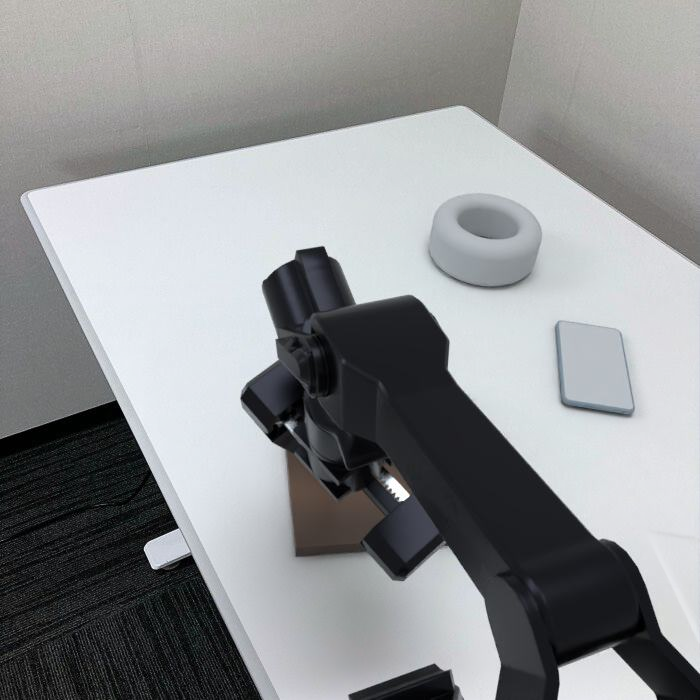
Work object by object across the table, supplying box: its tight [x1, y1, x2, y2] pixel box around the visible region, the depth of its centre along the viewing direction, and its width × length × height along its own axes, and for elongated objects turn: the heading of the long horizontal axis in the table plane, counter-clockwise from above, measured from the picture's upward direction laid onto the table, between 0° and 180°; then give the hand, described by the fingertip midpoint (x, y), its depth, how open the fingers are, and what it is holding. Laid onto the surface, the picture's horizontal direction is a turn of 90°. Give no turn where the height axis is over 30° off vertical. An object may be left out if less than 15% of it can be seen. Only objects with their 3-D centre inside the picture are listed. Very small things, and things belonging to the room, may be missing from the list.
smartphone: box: [555, 320, 636, 415], centre depth 94 cm, size 8×1×15 cm
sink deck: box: [284, 449, 448, 558], centre depth 80 cm, size 20×20×2 cm
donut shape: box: [428, 192, 543, 287], centre depth 107 cm, size 15×15×7 cm
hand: (342, 493), depth 66 cm, fingers open, 9 cm apart
